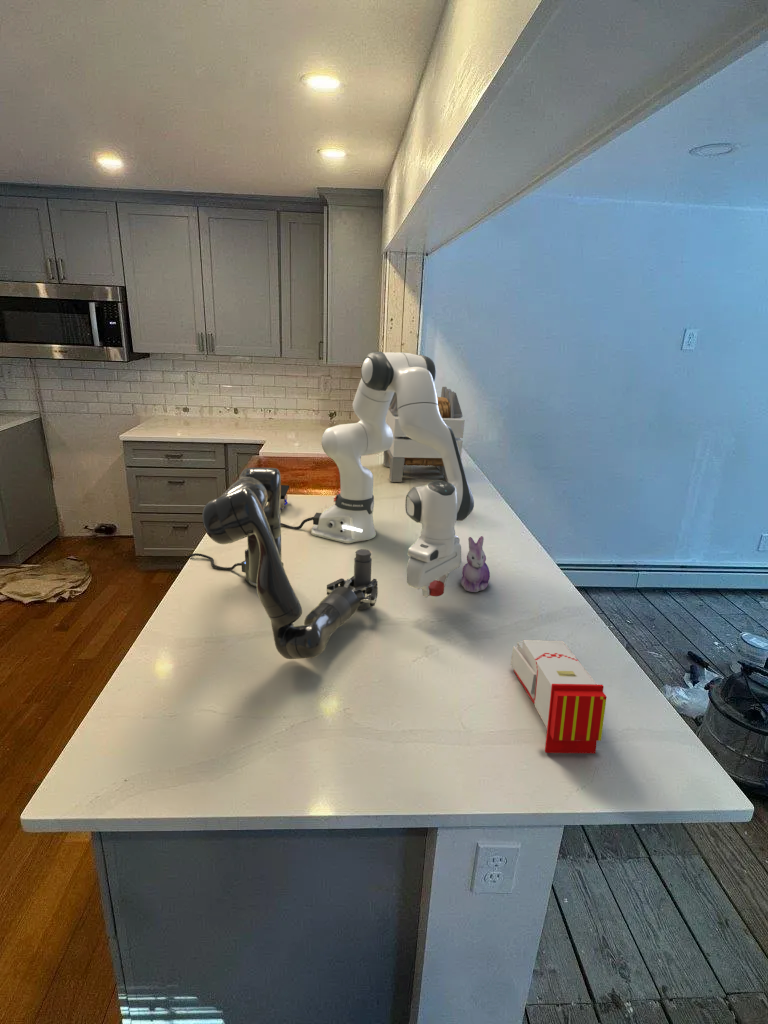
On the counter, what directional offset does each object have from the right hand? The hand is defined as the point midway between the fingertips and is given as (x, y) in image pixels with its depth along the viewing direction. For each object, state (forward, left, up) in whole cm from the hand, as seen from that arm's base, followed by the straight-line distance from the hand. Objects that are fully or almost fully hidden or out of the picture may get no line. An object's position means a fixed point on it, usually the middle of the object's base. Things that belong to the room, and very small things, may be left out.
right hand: (433, 591), depth 151 cm
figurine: (+9, +16, -4) cm, 19 cm away
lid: (0, 0, +2) cm, 2 cm away
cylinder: (-18, -6, -4) cm, 20 cm away
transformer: (-32, +126, -4) cm, 130 cm away
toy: (+30, -32, -4) cm, 45 cm away
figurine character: (-72, +55, -4) cm, 90 cm away
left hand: (-18, -4, +2) cm, 18 cm away
